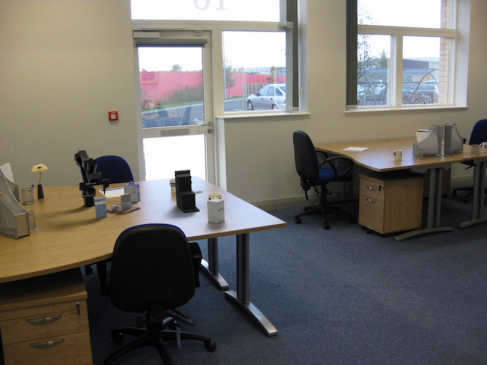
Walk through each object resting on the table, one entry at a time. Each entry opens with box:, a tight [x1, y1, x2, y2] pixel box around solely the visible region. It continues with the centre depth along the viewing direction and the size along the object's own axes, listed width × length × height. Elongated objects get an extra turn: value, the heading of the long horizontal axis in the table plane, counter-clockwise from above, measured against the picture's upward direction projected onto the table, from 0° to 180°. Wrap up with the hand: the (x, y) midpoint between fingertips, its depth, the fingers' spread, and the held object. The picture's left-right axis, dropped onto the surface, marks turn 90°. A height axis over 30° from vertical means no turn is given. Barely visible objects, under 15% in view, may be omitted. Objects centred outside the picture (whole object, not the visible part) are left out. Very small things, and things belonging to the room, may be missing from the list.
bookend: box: [174, 169, 201, 214], centre depth 302 cm, size 23×11×24 cm, turn 19°
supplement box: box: [206, 198, 226, 224], centre depth 271 cm, size 7×7×13 cm
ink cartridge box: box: [123, 180, 141, 203], centre depth 325 cm, size 10×6×14 cm, turn 83°
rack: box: [106, 193, 141, 215], centre depth 303 cm, size 18×14×11 cm
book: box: [94, 196, 108, 219], centre depth 287 cm, size 3×6×12 cm, turn 120°
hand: (97, 195), depth 291 cm, fingers open, 9 cm apart
